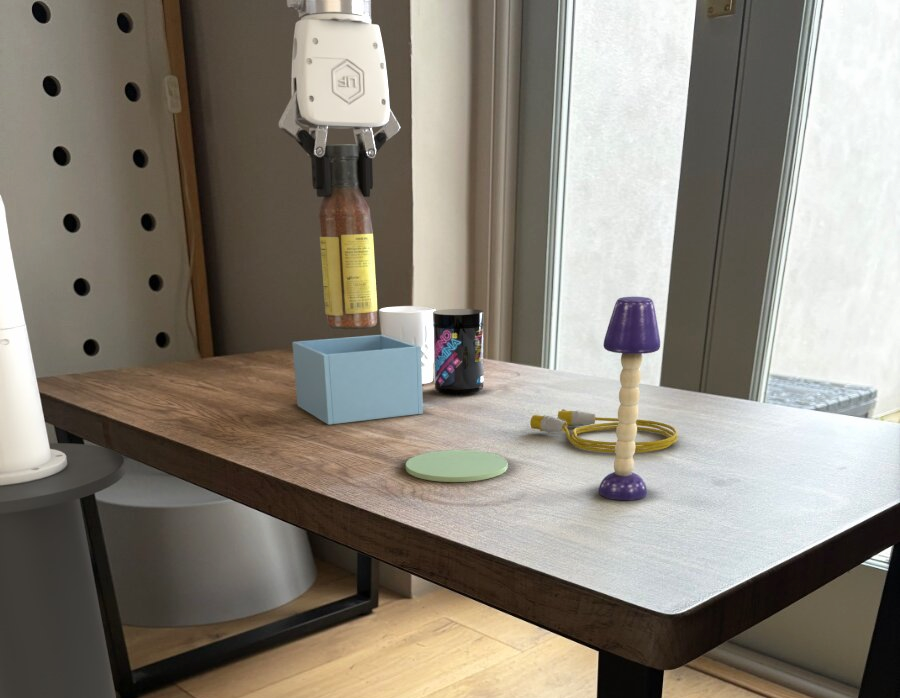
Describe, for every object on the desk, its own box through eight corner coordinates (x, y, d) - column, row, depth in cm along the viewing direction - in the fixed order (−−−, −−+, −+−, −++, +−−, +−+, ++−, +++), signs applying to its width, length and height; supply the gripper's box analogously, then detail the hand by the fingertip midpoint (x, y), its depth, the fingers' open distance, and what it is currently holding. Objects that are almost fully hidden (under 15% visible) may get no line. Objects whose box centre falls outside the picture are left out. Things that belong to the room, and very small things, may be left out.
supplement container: (434, 387, 129) (432, 309, 125) (483, 386, 129) (483, 308, 125) (433, 396, 123) (431, 315, 119) (484, 396, 123) (484, 314, 119)
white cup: (429, 375, 137) (427, 304, 133) (443, 384, 130) (441, 310, 126) (376, 378, 136) (373, 307, 131) (388, 388, 129) (385, 313, 125)
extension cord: (608, 416, 110) (609, 400, 110) (701, 444, 98) (703, 425, 97) (522, 429, 105) (522, 412, 104) (609, 461, 92) (610, 441, 92)
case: (328, 424, 109) (323, 355, 106) (297, 405, 119) (292, 341, 116) (423, 413, 114) (421, 346, 110) (385, 396, 124) (382, 334, 121)
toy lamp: (659, 498, 81) (675, 299, 74) (612, 505, 79) (624, 302, 73) (631, 484, 85) (643, 293, 78) (585, 490, 84) (594, 296, 77)
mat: (431, 487, 85) (431, 482, 85) (390, 462, 93) (389, 457, 93) (526, 473, 89) (526, 468, 89) (478, 450, 97) (478, 445, 97)
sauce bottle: (383, 325, 114) (380, 146, 107) (369, 331, 109) (364, 142, 101) (332, 323, 116) (326, 146, 108) (316, 329, 110) (307, 142, 102)
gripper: (268, -4, 93) (281, 196, 100) (421, 10, 99) (423, 196, 107) (249, 9, 99) (263, 196, 106) (394, 21, 105) (398, 197, 113)
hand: (343, 194), depth 106 cm, fingers closed on sauce bottle, 4 cm apart
